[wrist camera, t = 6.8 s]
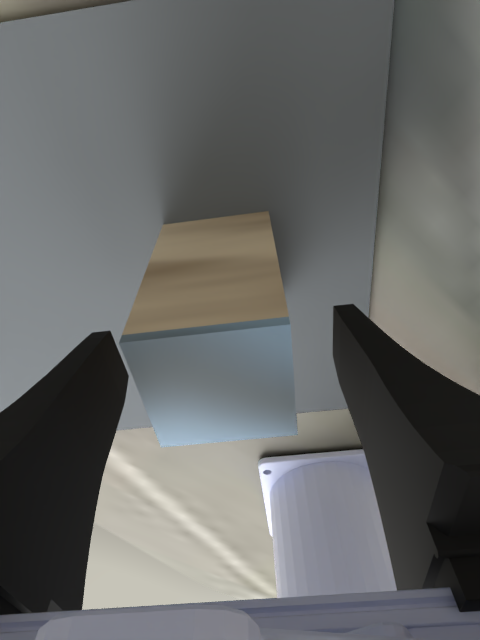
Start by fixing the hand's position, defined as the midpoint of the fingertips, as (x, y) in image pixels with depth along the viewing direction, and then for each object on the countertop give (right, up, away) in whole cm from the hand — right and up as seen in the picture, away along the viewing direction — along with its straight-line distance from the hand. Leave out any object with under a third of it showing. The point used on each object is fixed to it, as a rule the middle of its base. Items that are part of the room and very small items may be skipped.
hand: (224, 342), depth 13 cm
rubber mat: (-5, +2, +4) cm, 7 cm away
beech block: (0, +3, +3) cm, 4 cm away
